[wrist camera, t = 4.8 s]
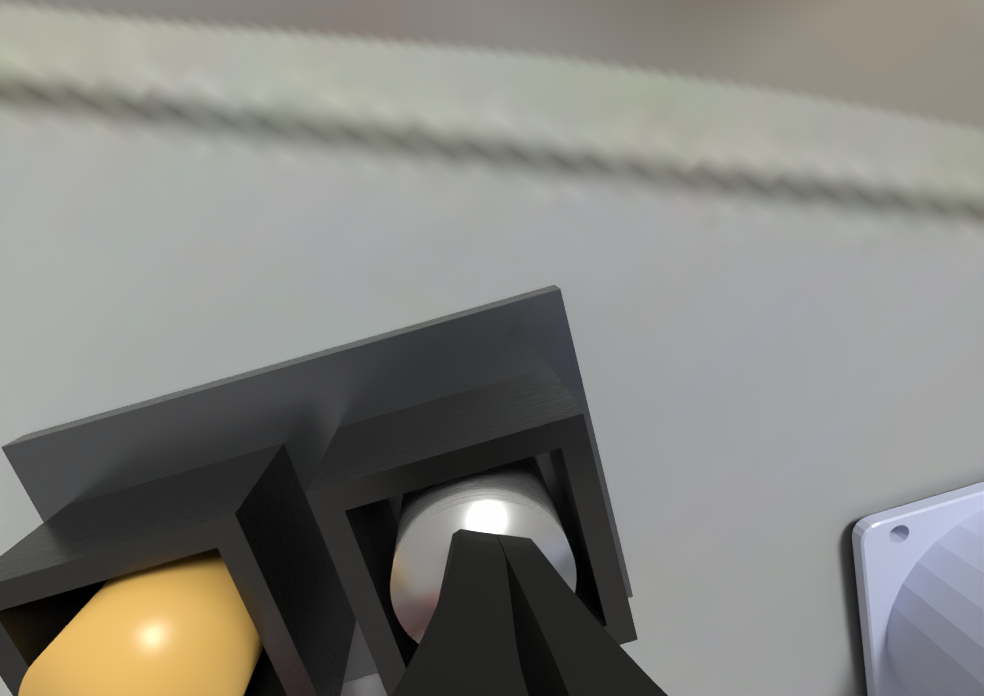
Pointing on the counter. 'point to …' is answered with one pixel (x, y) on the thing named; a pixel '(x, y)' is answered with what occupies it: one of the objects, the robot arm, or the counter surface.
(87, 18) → the counter surface
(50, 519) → the socket block
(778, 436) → the counter surface
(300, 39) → the counter surface
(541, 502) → the steel plunger
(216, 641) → the amber plunger
